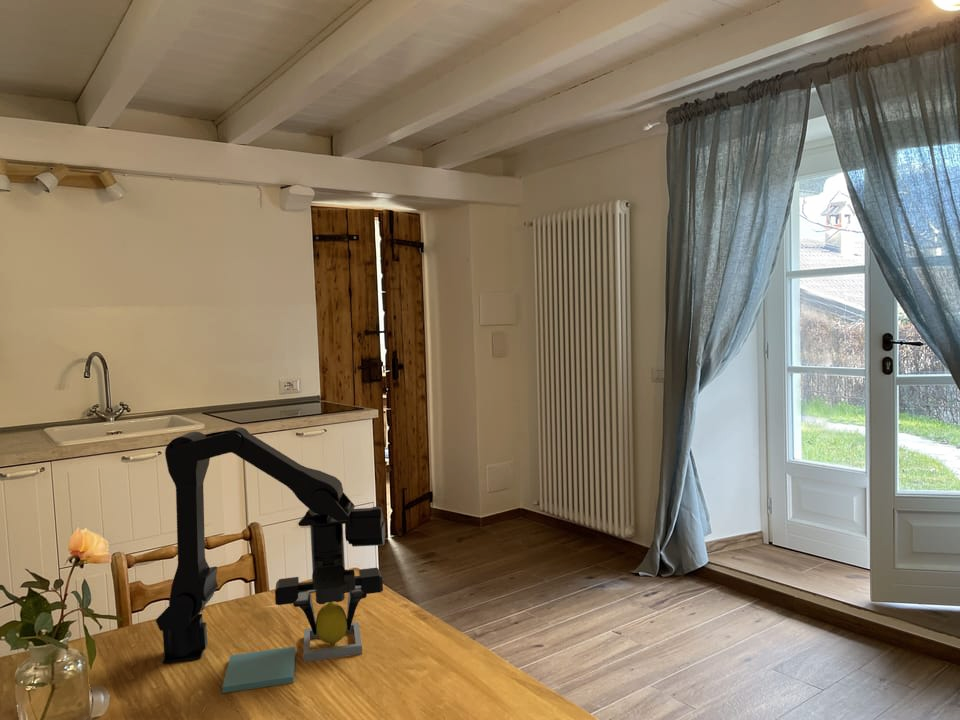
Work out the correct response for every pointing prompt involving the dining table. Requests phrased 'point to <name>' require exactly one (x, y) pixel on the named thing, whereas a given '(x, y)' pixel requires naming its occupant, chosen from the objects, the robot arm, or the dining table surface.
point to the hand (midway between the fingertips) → (331, 631)
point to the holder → (332, 651)
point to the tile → (260, 669)
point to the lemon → (331, 623)
